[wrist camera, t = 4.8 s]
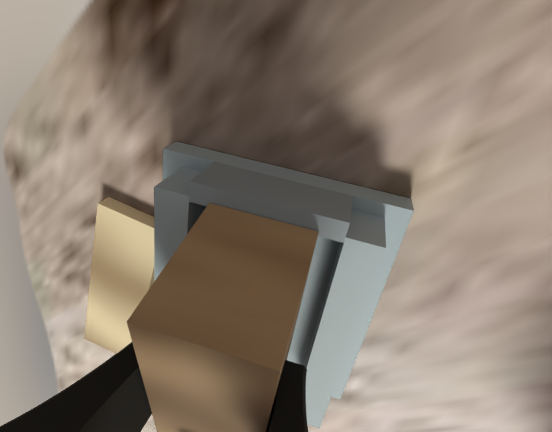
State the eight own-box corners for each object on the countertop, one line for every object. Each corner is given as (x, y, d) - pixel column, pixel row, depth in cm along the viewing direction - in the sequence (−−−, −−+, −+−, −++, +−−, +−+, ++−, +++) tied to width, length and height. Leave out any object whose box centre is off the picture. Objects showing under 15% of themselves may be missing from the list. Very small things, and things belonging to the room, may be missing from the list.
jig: (341, 381, 18) (335, 441, 15) (171, 327, 19) (138, 374, 16) (411, 198, 13) (419, 241, 10) (176, 141, 14) (131, 166, 12)
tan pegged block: (285, 364, 16) (235, 548, 11) (211, 340, 17) (133, 507, 12) (318, 231, 11) (252, 469, 6) (209, 202, 11) (69, 403, 7)
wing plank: (145, 344, 21) (133, 361, 20) (98, 323, 21) (84, 338, 20) (174, 218, 16) (161, 231, 15) (115, 192, 17) (98, 203, 16)
